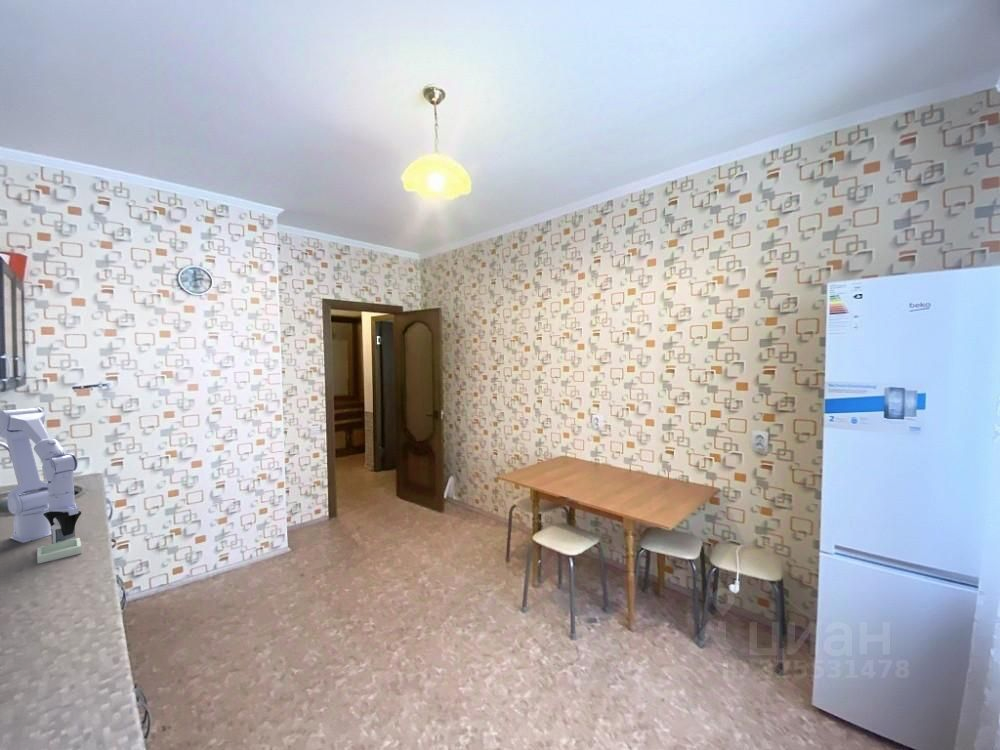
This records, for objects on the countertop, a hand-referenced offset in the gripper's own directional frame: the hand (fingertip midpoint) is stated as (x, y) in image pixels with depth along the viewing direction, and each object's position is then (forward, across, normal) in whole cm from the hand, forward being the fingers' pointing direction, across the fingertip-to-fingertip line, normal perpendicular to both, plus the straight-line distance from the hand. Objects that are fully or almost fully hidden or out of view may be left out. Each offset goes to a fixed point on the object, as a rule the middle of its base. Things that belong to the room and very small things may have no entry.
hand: (63, 533), depth 132 cm
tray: (+3, +9, -4) cm, 11 cm away
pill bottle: (+4, 0, 0) cm, 4 cm away
